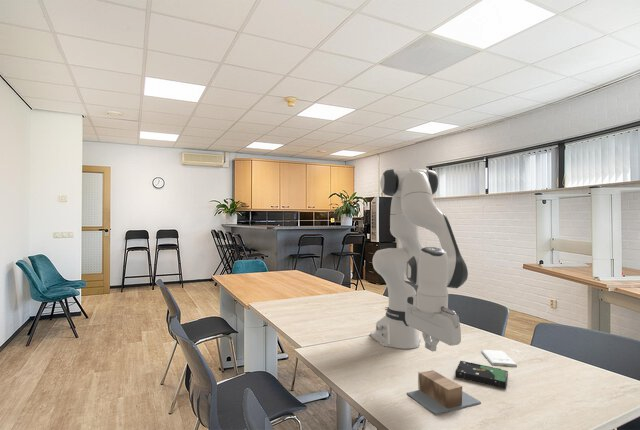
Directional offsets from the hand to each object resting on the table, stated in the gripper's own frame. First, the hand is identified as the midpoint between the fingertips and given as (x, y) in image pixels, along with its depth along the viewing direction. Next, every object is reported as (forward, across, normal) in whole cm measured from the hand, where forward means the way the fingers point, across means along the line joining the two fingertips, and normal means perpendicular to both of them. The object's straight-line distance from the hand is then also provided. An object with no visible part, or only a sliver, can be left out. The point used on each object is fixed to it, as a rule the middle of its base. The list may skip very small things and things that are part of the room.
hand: (430, 349), depth 105 cm
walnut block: (+10, +2, 0) cm, 10 cm away
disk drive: (+13, +2, -23) cm, 26 cm away
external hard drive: (+14, +10, -41) cm, 45 cm away
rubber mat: (+12, -5, -1) cm, 13 cm away
